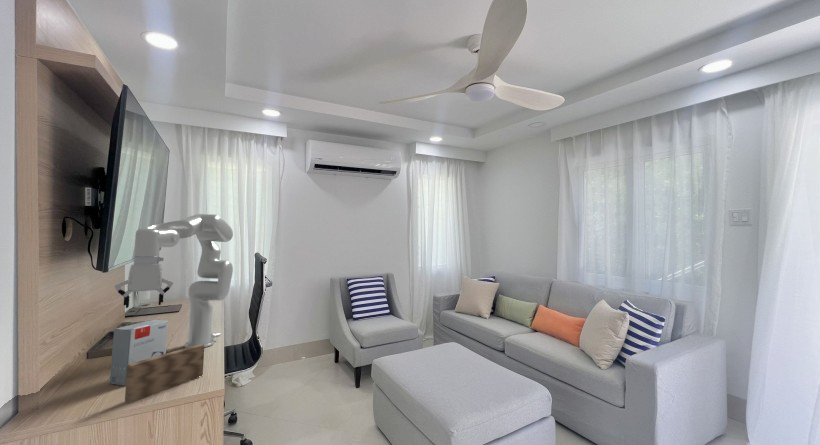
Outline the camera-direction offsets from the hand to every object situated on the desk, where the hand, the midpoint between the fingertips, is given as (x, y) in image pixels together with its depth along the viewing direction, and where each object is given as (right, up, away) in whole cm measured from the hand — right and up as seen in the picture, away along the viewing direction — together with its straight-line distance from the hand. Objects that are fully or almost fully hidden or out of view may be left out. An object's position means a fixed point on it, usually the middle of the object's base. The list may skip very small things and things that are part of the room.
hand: (143, 305), depth 125 cm
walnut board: (+14, -28, -7) cm, 32 cm away
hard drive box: (-3, -28, +1) cm, 28 cm away
